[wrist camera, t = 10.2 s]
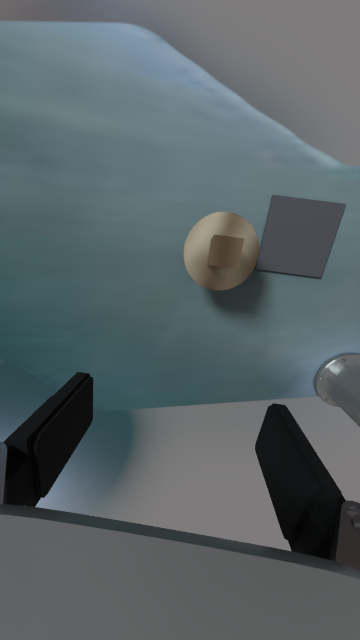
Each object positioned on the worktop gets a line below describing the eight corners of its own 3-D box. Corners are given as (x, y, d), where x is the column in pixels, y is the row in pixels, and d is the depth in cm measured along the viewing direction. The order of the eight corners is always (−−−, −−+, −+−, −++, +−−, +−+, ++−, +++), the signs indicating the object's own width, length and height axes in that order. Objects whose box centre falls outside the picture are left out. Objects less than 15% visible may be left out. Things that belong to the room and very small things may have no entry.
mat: (344, 204, 33) (345, 204, 32) (319, 277, 36) (321, 277, 36) (272, 195, 33) (273, 195, 32) (255, 268, 36) (255, 269, 36)
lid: (265, 218, 28) (284, 208, 22) (247, 294, 31) (259, 301, 26) (189, 208, 28) (189, 195, 23) (179, 284, 31) (176, 289, 26)
